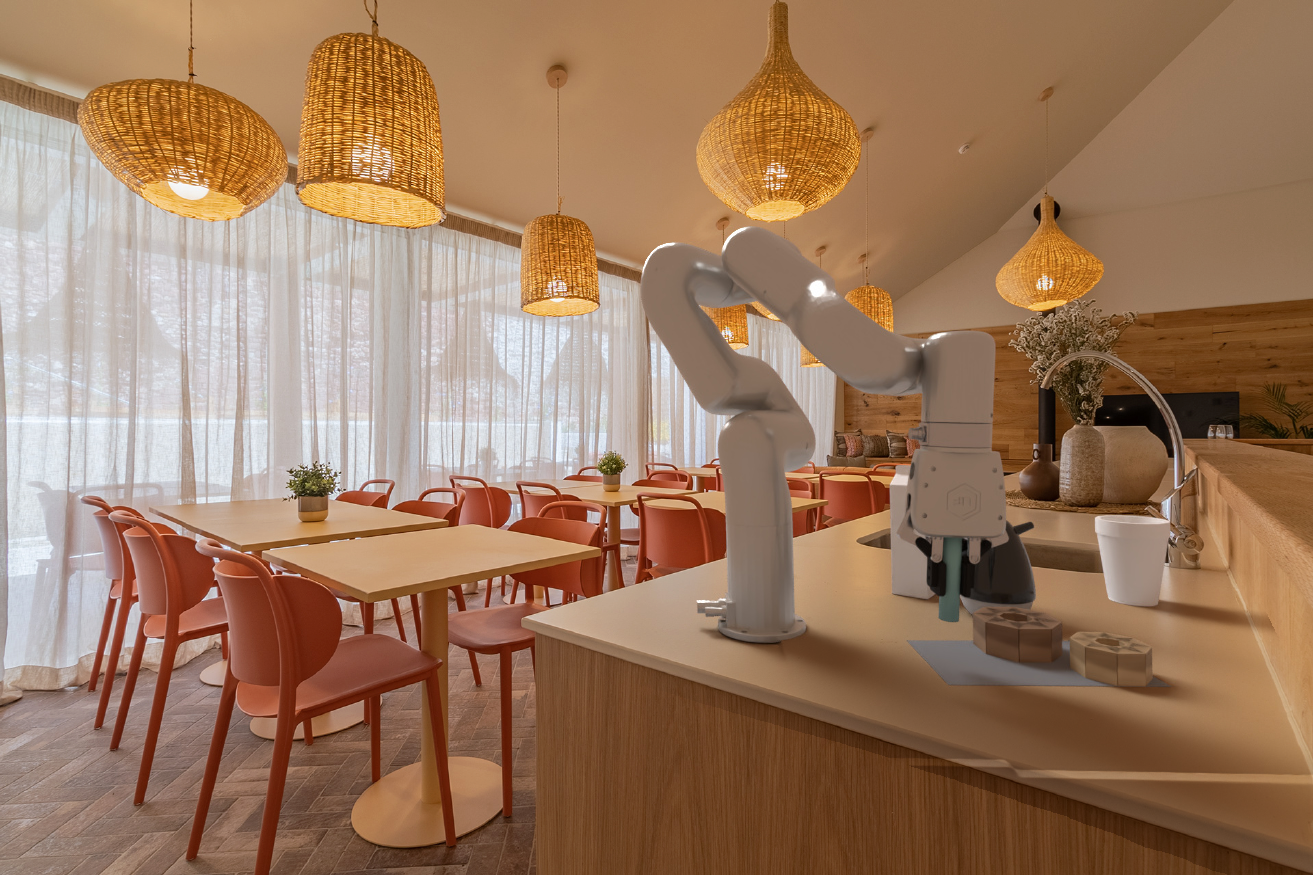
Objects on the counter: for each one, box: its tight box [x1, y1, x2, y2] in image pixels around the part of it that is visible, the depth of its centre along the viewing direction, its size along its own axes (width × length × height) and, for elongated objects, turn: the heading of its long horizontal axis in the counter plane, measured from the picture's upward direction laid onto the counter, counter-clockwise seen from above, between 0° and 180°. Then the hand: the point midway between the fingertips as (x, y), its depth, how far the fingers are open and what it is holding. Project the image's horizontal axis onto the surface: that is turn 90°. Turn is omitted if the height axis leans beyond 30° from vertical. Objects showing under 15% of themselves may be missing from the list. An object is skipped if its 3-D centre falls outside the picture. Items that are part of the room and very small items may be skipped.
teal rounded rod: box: [938, 537, 962, 623], centre depth 72 cm, size 2×2×12 cm
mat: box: [906, 639, 1172, 688], centre depth 73 cm, size 23×14×1 cm, turn 85°
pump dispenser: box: [960, 519, 1037, 616], centre depth 90 cm, size 10×10×15 cm
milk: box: [889, 464, 936, 600], centre depth 105 cm, size 6×6×22 cm
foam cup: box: [1094, 514, 1171, 607], centre depth 97 cm, size 10×9×13 cm
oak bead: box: [1069, 631, 1154, 687], centre depth 69 cm, size 7×7×4 cm
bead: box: [972, 607, 1063, 663], centre depth 77 cm, size 9×9×4 cm
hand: (949, 592), depth 72 cm, fingers closed on teal rounded rod, 2 cm apart
